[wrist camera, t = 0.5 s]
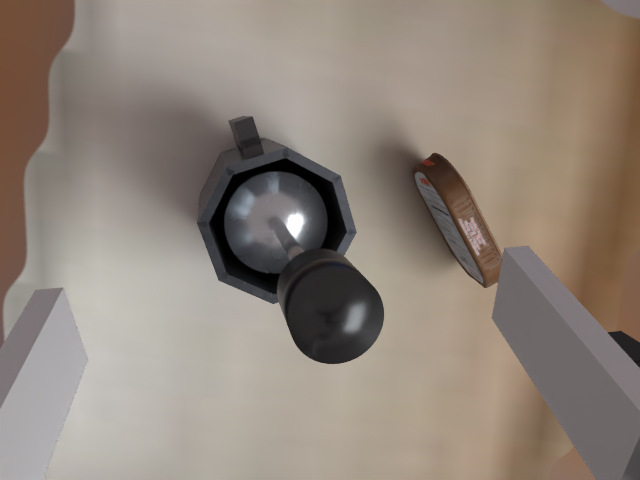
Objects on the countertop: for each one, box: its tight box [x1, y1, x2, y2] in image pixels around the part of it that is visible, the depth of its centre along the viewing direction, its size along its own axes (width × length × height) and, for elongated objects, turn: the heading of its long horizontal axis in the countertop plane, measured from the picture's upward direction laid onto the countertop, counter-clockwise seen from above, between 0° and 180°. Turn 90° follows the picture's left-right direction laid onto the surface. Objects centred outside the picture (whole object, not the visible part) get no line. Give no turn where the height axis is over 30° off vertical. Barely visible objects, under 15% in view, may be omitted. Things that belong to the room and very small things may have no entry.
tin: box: [413, 153, 503, 288], centre depth 52 cm, size 15×3×8 cm, turn 31°
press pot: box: [197, 116, 357, 304], centre depth 45 cm, size 14×11×14 cm
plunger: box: [224, 171, 384, 364], centre depth 31 cm, size 8×8×20 cm
